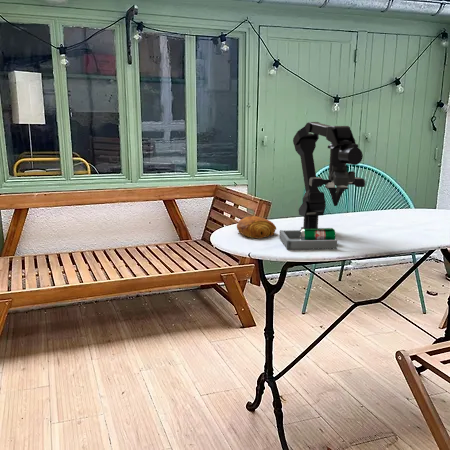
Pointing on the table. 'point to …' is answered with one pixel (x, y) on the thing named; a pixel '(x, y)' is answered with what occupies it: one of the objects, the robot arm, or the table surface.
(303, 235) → the soda can
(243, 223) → the croissant
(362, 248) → the table surface
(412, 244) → the table surface
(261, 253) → the table surface
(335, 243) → the tray
